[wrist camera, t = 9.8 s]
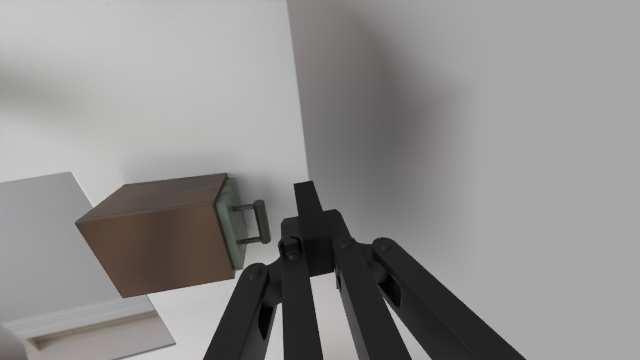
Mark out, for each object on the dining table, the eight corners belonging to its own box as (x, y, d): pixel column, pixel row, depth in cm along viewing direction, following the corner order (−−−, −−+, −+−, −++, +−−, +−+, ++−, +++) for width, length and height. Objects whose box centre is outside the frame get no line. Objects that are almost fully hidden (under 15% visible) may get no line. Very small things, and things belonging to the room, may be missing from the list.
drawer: (263, 174, 36) (260, 198, 29) (273, 231, 41) (273, 264, 34) (139, 188, 34) (104, 219, 27) (166, 247, 39) (143, 286, 32)
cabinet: (226, 172, 36) (212, 204, 27) (242, 235, 41) (234, 278, 33) (124, 184, 34) (73, 222, 25) (155, 249, 39) (122, 298, 31)
